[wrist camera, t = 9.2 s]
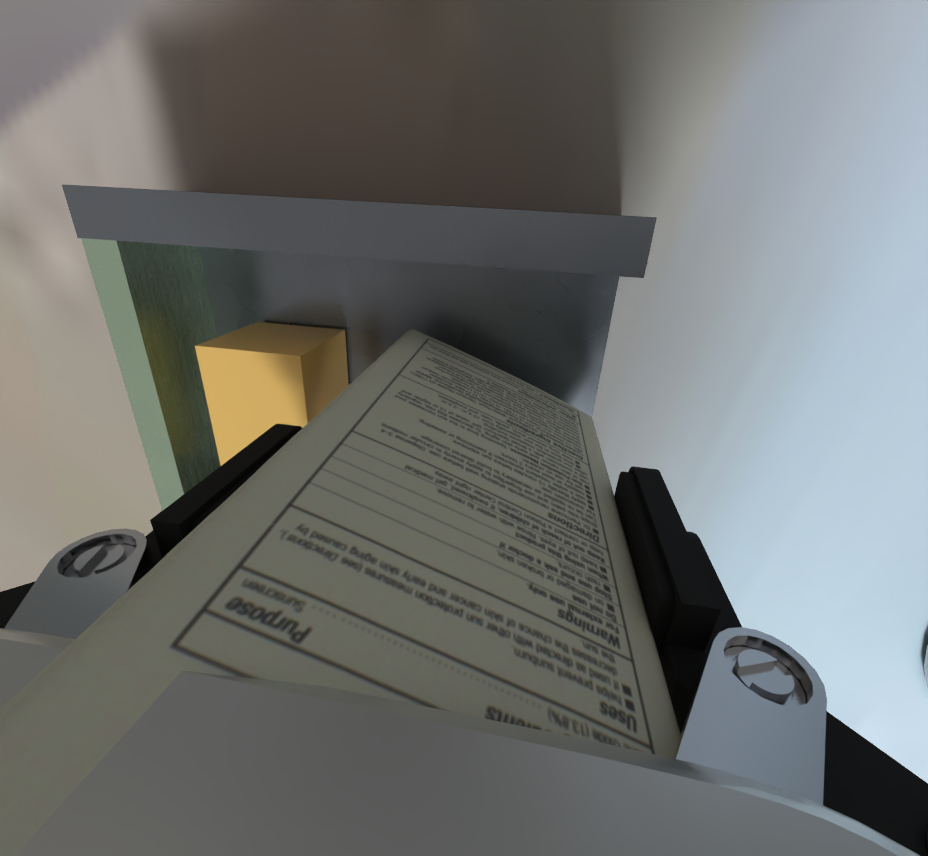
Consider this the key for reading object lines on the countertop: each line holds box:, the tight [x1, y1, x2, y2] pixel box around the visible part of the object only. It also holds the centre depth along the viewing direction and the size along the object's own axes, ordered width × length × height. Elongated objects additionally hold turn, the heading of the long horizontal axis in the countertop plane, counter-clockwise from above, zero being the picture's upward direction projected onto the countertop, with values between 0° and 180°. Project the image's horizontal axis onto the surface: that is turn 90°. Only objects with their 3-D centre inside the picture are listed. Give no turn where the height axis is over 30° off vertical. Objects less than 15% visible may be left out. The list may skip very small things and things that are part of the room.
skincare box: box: [0, 329, 680, 856], centre depth 9 cm, size 6×4×12 cm
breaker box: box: [62, 185, 656, 511], centre depth 15 cm, size 14×12×4 cm
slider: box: [195, 322, 349, 466], centre depth 14 cm, size 3×5×3 cm, turn 177°
